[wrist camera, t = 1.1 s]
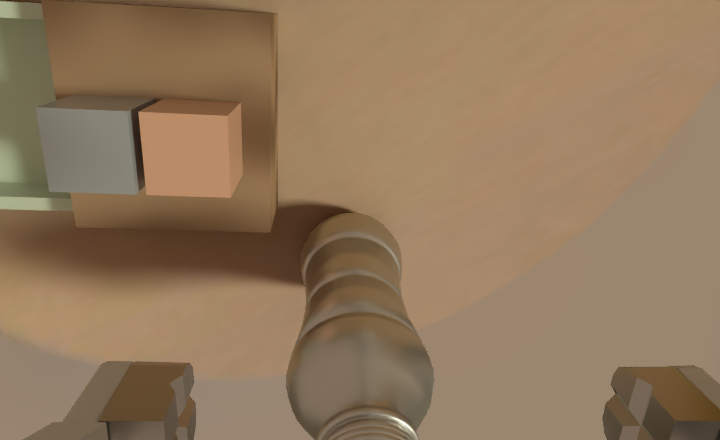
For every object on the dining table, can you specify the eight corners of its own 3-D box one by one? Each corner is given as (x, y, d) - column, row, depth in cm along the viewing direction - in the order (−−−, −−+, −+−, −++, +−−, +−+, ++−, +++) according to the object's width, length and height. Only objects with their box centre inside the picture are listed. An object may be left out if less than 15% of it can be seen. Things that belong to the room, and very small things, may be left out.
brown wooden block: (84, 1, 30) (40, -1, 25) (277, 13, 31) (268, 13, 26) (109, 198, 34) (75, 227, 30) (277, 204, 35) (270, 232, 31)
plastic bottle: (386, 292, 38) (443, 555, 20) (294, 280, 37) (263, 541, 19) (405, 211, 36) (490, 421, 17) (308, 196, 35) (288, 398, 17)
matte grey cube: (75, 94, 27) (35, 107, 23) (154, 98, 27) (126, 111, 24) (85, 168, 29) (49, 191, 25) (160, 171, 29) (135, 194, 25)
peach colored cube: (163, 98, 27) (138, 111, 24) (240, 102, 28) (227, 115, 24) (169, 171, 29) (146, 195, 25) (242, 174, 29) (230, 197, 25)
